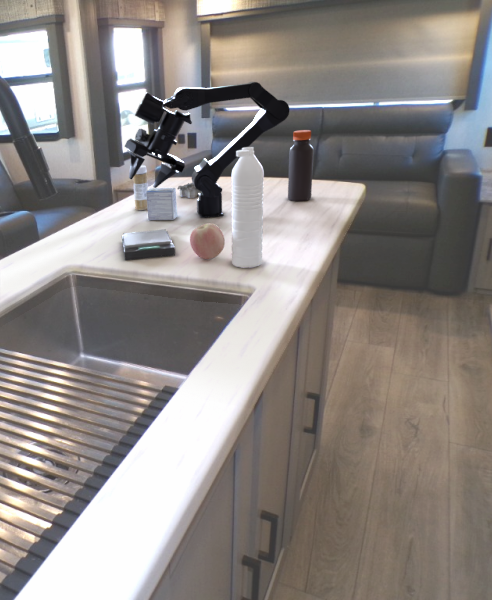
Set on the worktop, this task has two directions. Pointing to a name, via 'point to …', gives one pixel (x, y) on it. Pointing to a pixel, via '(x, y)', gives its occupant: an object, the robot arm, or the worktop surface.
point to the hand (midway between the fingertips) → (142, 183)
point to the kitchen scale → (147, 244)
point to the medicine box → (161, 203)
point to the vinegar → (300, 167)
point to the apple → (207, 241)
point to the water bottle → (247, 210)
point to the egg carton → (189, 191)
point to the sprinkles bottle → (140, 188)
